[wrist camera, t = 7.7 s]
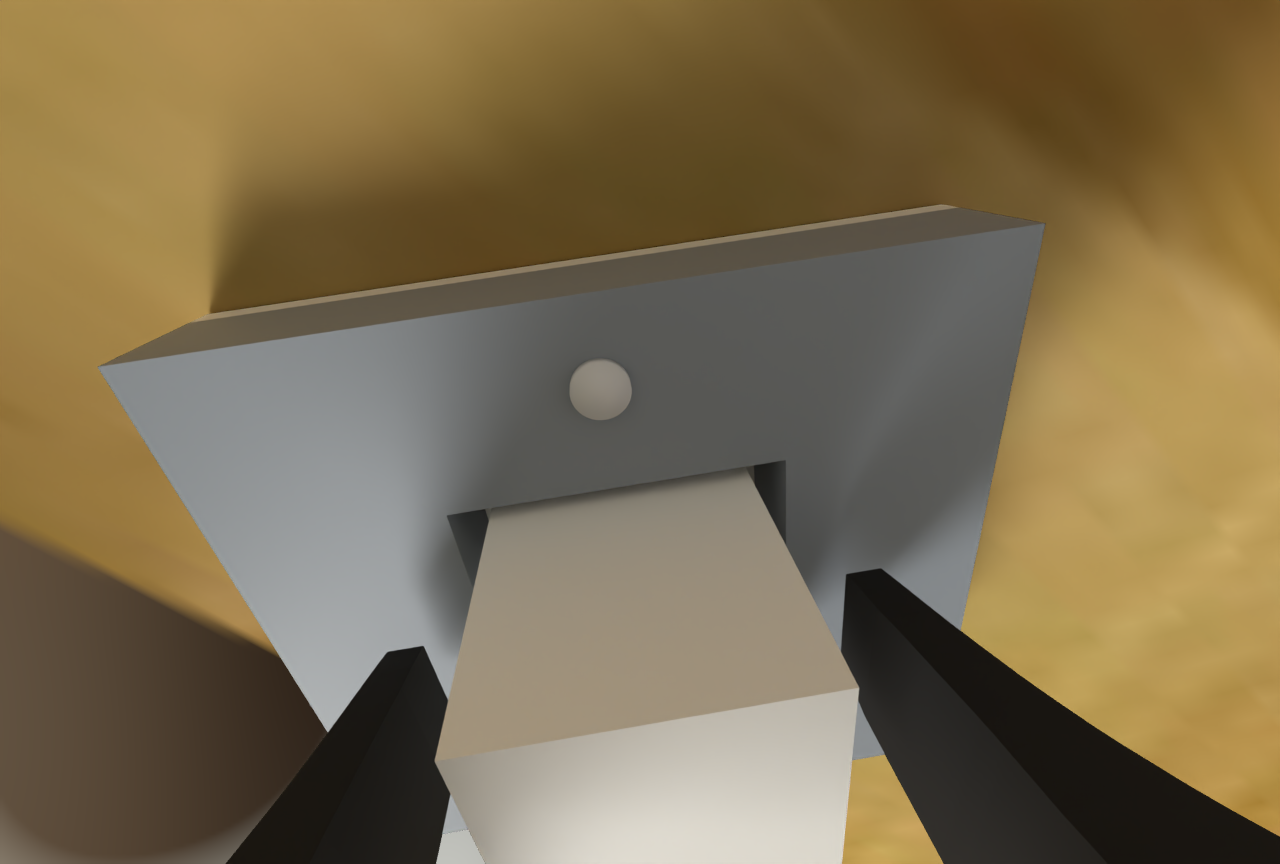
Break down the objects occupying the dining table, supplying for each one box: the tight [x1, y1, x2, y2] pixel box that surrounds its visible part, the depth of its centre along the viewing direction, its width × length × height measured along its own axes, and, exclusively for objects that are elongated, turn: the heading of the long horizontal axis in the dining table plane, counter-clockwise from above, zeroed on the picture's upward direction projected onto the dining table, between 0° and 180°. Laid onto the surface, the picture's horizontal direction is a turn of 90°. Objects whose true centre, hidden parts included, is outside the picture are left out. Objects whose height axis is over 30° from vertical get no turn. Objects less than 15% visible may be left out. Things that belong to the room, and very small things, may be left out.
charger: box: [435, 467, 859, 864], centre depth 9 cm, size 4×4×6 cm
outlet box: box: [98, 204, 1045, 834], centre depth 11 cm, size 13×12×3 cm
